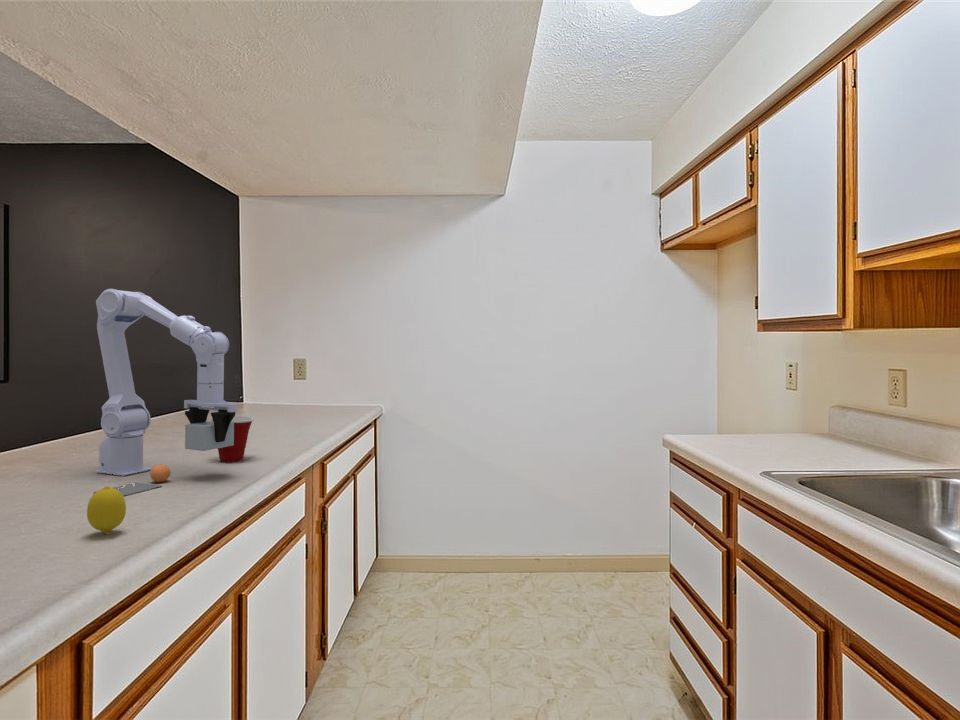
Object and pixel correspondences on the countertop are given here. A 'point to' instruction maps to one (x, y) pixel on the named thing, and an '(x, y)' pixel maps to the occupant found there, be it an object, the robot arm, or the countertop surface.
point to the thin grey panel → (134, 488)
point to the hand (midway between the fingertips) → (209, 440)
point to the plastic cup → (236, 440)
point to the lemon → (106, 509)
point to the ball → (160, 473)
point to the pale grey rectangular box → (206, 436)
